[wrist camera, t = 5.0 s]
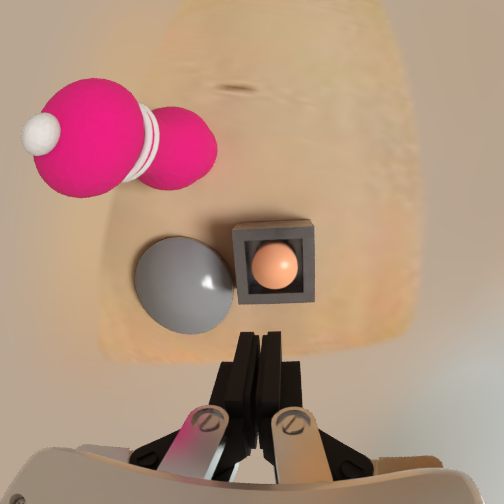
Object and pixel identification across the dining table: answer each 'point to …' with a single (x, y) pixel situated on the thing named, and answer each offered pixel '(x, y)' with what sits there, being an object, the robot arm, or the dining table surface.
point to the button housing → (244, 250)
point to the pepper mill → (115, 141)
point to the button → (274, 264)
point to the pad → (184, 285)
